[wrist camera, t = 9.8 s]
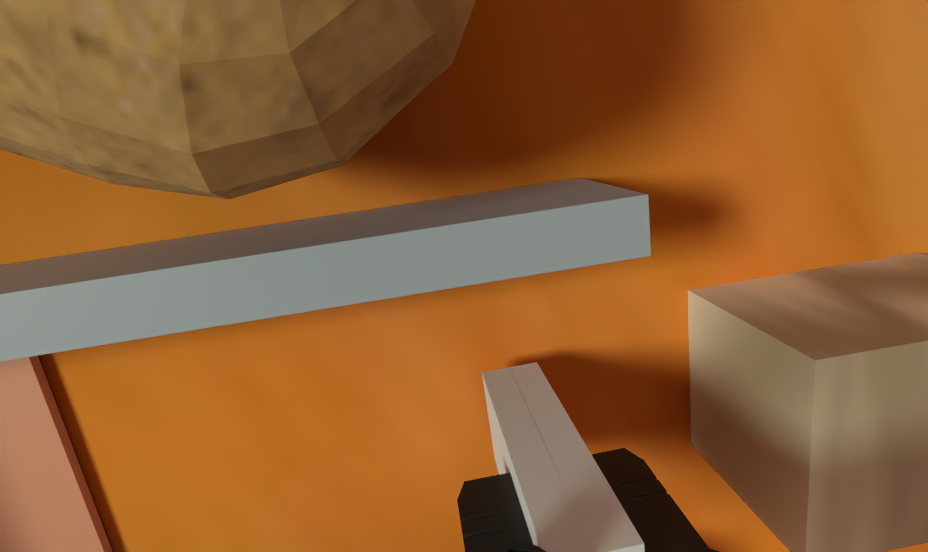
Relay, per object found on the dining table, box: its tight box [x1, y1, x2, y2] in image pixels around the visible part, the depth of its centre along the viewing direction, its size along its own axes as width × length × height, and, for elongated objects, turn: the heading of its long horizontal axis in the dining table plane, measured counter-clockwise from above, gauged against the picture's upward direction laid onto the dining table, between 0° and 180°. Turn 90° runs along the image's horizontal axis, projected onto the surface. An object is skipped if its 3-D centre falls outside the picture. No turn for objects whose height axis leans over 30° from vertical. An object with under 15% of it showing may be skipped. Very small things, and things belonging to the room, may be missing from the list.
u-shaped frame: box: [0, 178, 651, 552], centre depth 13 cm, size 21×12×4 cm, turn 98°
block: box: [688, 252, 928, 552], centre depth 14 cm, size 5×5×7 cm
